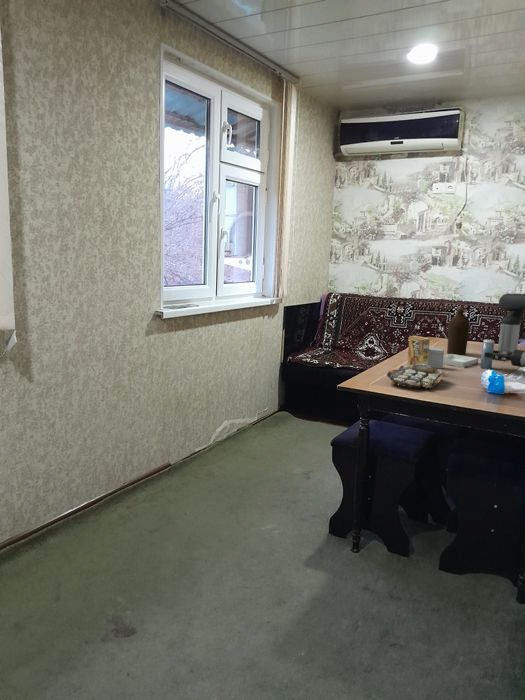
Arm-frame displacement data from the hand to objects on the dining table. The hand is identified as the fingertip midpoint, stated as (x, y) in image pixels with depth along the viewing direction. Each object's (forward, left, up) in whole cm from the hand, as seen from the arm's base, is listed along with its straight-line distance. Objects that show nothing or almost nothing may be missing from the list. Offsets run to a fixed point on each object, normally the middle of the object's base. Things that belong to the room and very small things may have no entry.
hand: (488, 353), depth 249 cm
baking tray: (+53, -8, -8) cm, 54 cm away
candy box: (+31, -20, -7) cm, 37 cm away
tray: (+1, -15, -7) cm, 16 cm away
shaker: (0, -1, -7) cm, 7 cm away
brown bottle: (-22, -26, -7) cm, 34 cm away
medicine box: (+19, -18, -7) cm, 27 cm away
